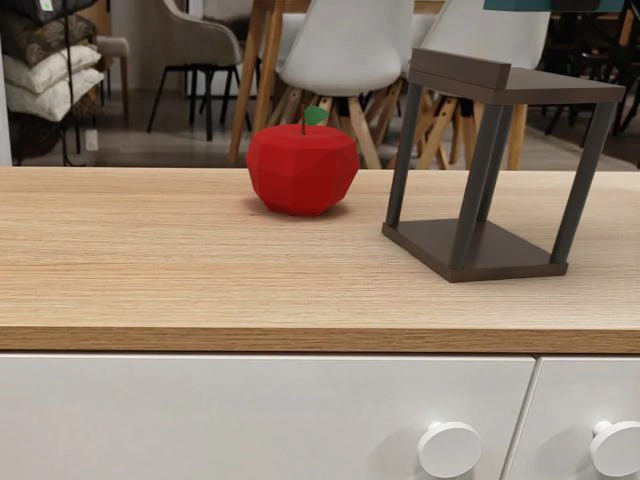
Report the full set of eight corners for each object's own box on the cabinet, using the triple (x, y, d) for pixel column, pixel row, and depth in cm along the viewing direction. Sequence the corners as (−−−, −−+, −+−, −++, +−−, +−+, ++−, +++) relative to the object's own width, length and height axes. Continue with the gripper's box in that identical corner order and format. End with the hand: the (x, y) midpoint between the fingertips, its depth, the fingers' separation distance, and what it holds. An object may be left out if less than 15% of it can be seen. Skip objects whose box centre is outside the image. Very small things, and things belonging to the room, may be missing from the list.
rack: (479, 227, 64) (524, 46, 56) (566, 274, 54) (634, 61, 46) (380, 232, 62) (412, 47, 55) (449, 282, 52) (501, 63, 44)
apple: (225, 199, 71) (230, 99, 66) (306, 187, 76) (317, 93, 71) (284, 228, 63) (295, 117, 58) (371, 213, 67) (389, 108, 62)
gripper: (865, -438, 31) (702, 15, 40) (600, -305, 45) (524, 6, 54) (723, -455, 29) (588, 15, 38) (497, -314, 44) (438, 5, 53)
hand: (552, 6), depth 46 cm, fingers closed on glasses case, 3 cm apart
